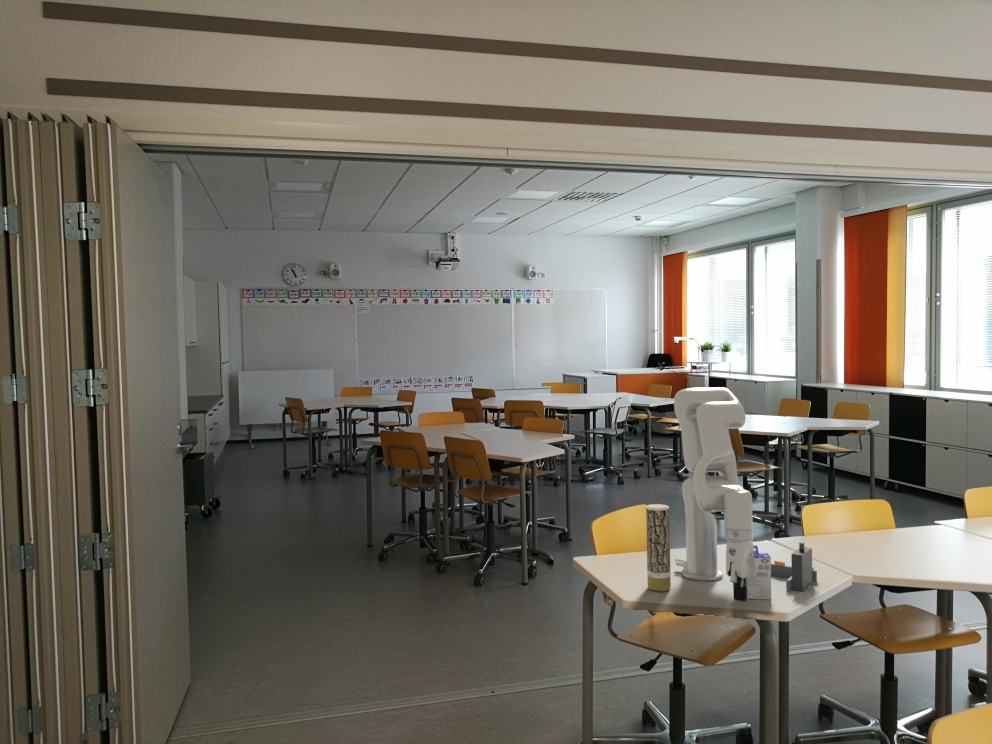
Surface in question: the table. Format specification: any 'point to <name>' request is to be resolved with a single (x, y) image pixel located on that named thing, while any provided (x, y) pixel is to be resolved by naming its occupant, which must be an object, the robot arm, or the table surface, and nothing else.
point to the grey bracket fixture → (797, 570)
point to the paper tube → (658, 547)
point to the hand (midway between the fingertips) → (740, 600)
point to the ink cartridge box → (760, 577)
